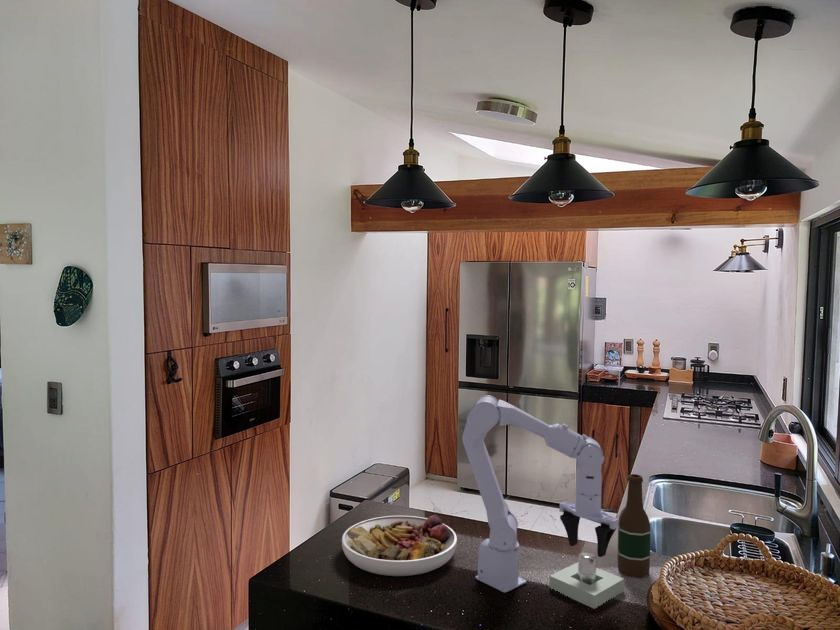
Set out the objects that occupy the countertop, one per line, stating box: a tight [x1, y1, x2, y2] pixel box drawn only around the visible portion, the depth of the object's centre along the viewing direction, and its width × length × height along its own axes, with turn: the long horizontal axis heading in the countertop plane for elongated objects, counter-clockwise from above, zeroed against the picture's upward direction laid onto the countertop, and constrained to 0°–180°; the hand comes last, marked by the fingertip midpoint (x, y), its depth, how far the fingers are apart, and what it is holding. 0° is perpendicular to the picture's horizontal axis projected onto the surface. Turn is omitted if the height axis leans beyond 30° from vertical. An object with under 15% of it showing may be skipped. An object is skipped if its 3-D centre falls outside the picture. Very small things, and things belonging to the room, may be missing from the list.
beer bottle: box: [617, 473, 652, 579], centre depth 151 cm, size 8×8×24 cm
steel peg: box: [577, 552, 597, 585], centre depth 142 cm, size 4×4×8 cm
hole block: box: [549, 561, 625, 610], centre depth 142 cm, size 12×12×3 cm
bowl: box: [341, 514, 458, 577], centre depth 161 cm, size 30×30×8 cm
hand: (587, 550), depth 142 cm, fingers open, 7 cm apart
